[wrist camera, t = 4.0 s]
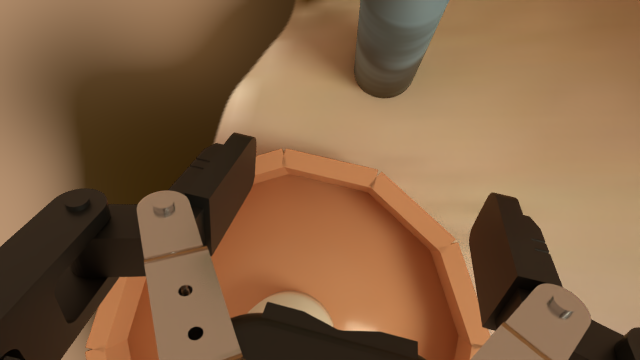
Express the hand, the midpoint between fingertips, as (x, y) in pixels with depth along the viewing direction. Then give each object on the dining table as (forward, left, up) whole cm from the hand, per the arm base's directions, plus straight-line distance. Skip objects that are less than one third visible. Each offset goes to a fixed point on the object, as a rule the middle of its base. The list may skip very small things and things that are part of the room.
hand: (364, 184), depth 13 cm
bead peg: (0, -11, -14) cm, 18 cm away
